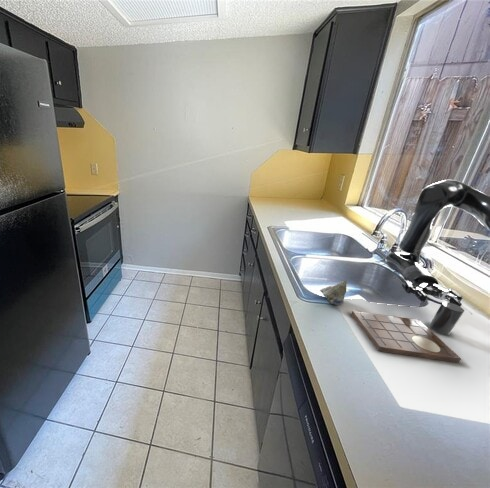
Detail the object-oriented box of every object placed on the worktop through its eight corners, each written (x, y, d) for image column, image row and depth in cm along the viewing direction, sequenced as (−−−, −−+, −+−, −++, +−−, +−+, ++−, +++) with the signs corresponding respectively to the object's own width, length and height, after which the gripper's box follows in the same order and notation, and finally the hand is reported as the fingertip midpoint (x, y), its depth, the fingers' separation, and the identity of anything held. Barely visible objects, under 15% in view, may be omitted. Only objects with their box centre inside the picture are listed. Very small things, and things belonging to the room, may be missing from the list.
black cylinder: (441, 325, 84) (455, 303, 80) (453, 336, 79) (469, 312, 75) (424, 323, 84) (438, 300, 80) (436, 333, 80) (450, 310, 76)
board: (416, 323, 84) (419, 319, 84) (458, 362, 70) (461, 358, 69) (350, 314, 87) (352, 310, 86) (378, 350, 73) (380, 346, 72)
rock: (319, 286, 100) (346, 276, 93) (328, 299, 99) (356, 290, 93) (314, 300, 91) (344, 290, 85) (325, 314, 91) (355, 305, 84)
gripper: (399, 266, 98) (418, 287, 84) (448, 274, 93) (476, 299, 79) (391, 282, 101) (408, 306, 87) (438, 292, 96) (464, 318, 82)
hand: (441, 302), depth 83 cm, fingers open, 8 cm apart
